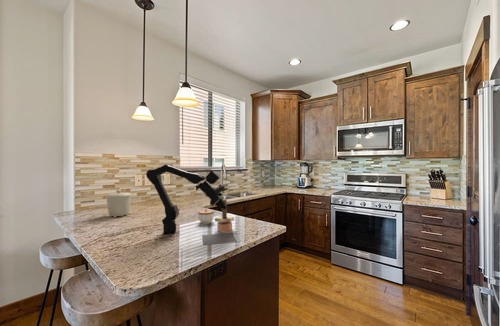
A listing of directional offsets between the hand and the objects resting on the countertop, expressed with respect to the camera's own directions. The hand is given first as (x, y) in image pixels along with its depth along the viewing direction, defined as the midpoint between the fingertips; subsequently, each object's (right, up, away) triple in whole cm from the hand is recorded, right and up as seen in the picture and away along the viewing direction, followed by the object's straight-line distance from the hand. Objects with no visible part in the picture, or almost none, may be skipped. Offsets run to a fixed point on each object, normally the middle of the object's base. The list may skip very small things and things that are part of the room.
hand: (226, 208), depth 131 cm
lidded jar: (-16, -14, +19) cm, 29 cm away
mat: (-3, -13, -15) cm, 20 cm away
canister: (-90, -15, +43) cm, 101 cm away
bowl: (-1, -13, +1) cm, 14 cm away
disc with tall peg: (-1, -7, 0) cm, 7 cm away
